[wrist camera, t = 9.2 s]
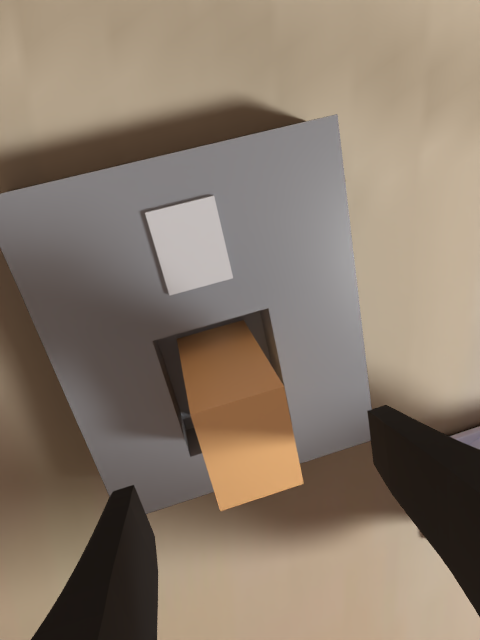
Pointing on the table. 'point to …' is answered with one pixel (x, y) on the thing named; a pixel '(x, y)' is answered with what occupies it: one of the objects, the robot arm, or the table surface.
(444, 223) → the table surface
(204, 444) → the plug
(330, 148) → the grey flat block
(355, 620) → the table surface
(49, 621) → the robot arm
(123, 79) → the table surface
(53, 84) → the table surface
